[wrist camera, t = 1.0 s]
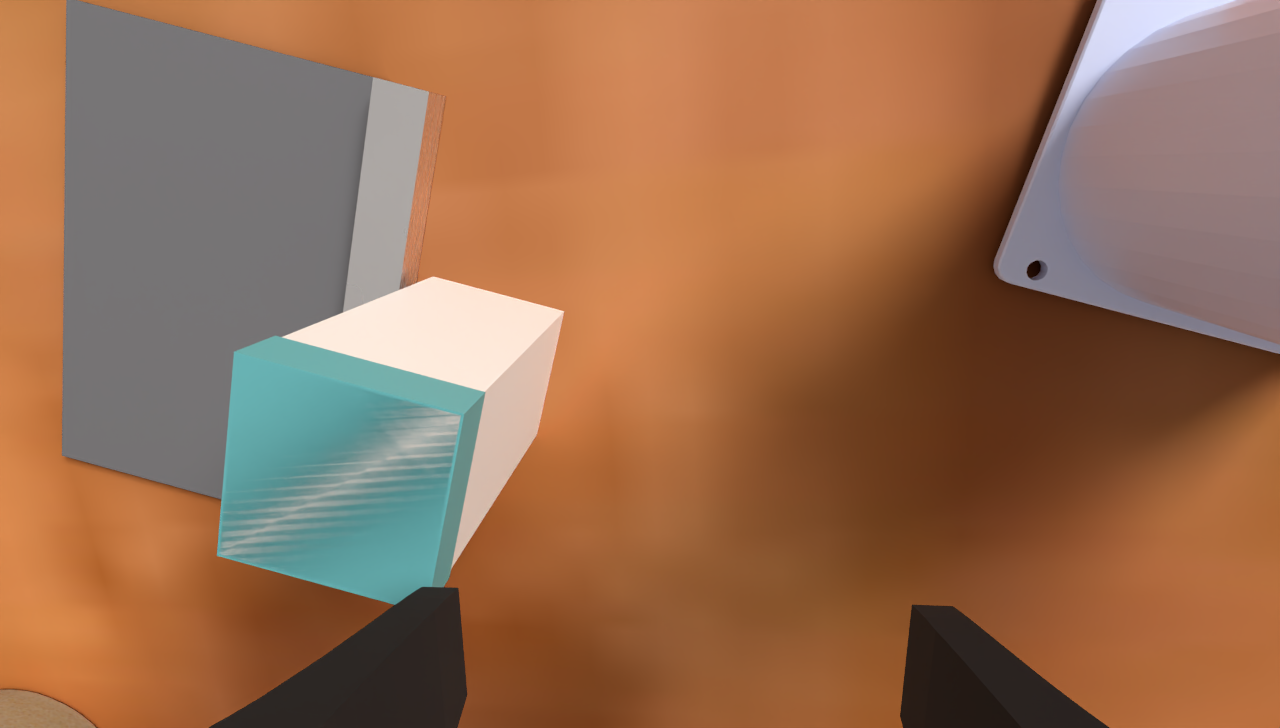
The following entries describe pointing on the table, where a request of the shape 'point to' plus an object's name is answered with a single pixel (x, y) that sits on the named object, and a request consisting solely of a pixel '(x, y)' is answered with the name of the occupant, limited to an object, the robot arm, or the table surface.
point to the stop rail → (393, 190)
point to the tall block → (382, 436)
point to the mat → (192, 230)
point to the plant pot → (37, 712)
